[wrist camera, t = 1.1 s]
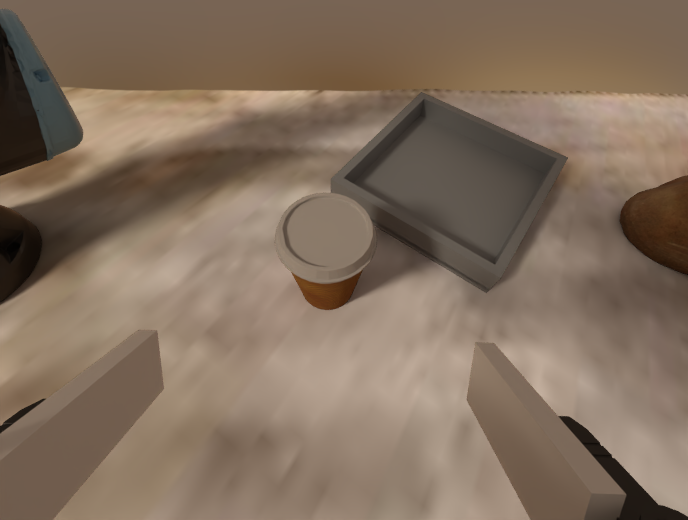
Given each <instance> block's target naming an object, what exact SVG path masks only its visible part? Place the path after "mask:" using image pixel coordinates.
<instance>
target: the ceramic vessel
mask: <svg viewBox="0 0 688 520" xmlns="http://www.w3.org/2000/svg"><path fill="white" fill-rule="evenodd" d="M620 223H621V225H622V228H623V232H624V234H625V235H626V237H627V238H628V240H629V241H630V242H631V243H632V244H633V245H634V246H635V247H636V248H637V249H638V250H640V251H641V252H642V253H643V254H645V255H646V256H647V257H649V258H651V259H652V260H654V261H655V262H657V263H660V264H662V265H664V266H666V267H669V268H671V269H673V270H676V271H678V272H681V273H684V274H687V275H688V175H687V176H683V177H680V178H677V179H674V180H672V181H670V182H667V183H665V184H662V185H660V186H659V187H656V188H653V189H649V190H645V191H642V192H639V193H637V194H636V195H634V196H633V197H631V198H630V199H629V200H628V201H626V203H625V205H624V206H623V208H622V211H621V214H620Z"/></svg>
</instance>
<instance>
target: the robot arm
mask: <svg viewBox="0 0 688 520" xmlns="http://www.w3.org/2000/svg"><path fill="white" fill-rule="evenodd" d="M82 139H83V129H82V127H81V125H80V123H79V121H78V119H77V117H76V115H75V113H74V111H73V109H72V108H71V106H70V104H69V102H68V100H67V99H66V97H65V95H64V93H63V91H62V90H61V88H60V86H59V84H58V83H57V81H56V79H55V78H54V76H53V74H52V72H51V71H50V69H49V67H48V65H47V64H46V62H45V60H44V58H43V57H42V55H41V53H40V51H39V50H38V48H37V46H36V45H35V43H34V41H33V40H32V38H31V36H30V35H29V33H28V31H27V30H26V28H25V26H24V25H23V23H22V22H21V21H20V19H19V18H18V16H17V15H16V14H15V13H14V12H13V11H11V10H9V9H0V176H1V175H4V174H7V173H10V172H13V171H16V170H19V169H22V168H25V167H28V166H31V165H34V164H37V163H40V162H43V161H46V160H47V161H48V160H51V159H53V157H54V156H56V155H58V154H61V153H63V152H65V151H68V150H70V149H72V148H75V147H77V146H78V145H79V144H80V142H81V141H82ZM40 252H41V236H40V233H39V231H38V229H37V228H36V227H35V226H34V225H33V224H32V223H31V222H30V221H28V220H27V219H26V218H24V217H23V216H22V215H20V214H19V213H17V212H16V211H14V210H12V209H10V208H7V207H5V206H2V205H0V302H1V301H2V300H4V299H5V298H6V297H8V296H9V295H10V294H11V293H13V292H14V291H15V290H16V289H17V288H18V287H19V286H20V285H21V284H22V283H23V282H24V281H25V280H26V278H27V277H28V276H29V274H30V273H31V272H32V270H33V268H34V267H35V265H36V263H37V261H38V258H39V256H40ZM163 389H164V385H163V376H162V368H161V359H160V351H159V342H158V333H157V331H155V330H138V331H136V332H135V333H134V334H132V335H131V336H130V337H128V338H127V339H126V340H124V341H123V342H122V343H120V344H119V345H118V346H116V347H115V348H114V349H112V350H111V351H110V352H108V353H107V354H106V355H104V356H103V357H102V358H100V359H99V360H98V361H96V362H95V363H94V364H92V365H91V366H90V367H88V368H87V369H86V370H84V371H83V372H82V373H80V374H79V375H78V376H76V377H75V378H74V379H72V380H71V381H70V382H68V383H67V384H66V385H64V386H63V387H62V388H60V389H59V390H58V391H56V392H55V393H54V394H52V395H51V396H50V397H48V398H47V399H42V400H40V401H38V402H36V403H34V404H32V405H30V406H28V407H26V408H24V409H22V410H20V411H19V412H17V413H16V414H15V415H13V416H12V417H11V418H9V419H8V420H6V421H5V422H4V423H3V425H2V426H0V520H53V519H54V518H55V516H56V515H57V514H58V513H59V512H60V511H61V509H62V508H63V507H64V506H65V505H66V503H67V502H68V501H69V500H70V499H71V498H72V496H73V495H74V494H75V493H76V492H77V490H78V489H79V488H80V487H81V486H82V485H83V483H84V482H85V481H86V480H87V479H88V478H89V476H90V475H91V474H92V473H93V472H94V470H95V469H96V468H97V467H98V466H99V465H100V463H101V462H102V461H103V460H104V459H105V458H106V456H107V455H108V454H109V453H110V452H111V450H112V449H113V448H114V447H115V446H116V445H117V443H118V442H119V441H120V440H121V439H122V438H123V436H124V435H125V434H126V433H127V432H128V430H129V429H130V428H131V427H132V426H133V425H134V423H135V422H136V421H137V420H138V419H139V417H140V416H141V415H142V414H143V413H144V412H145V410H146V409H147V408H148V407H149V406H150V405H151V403H152V402H153V401H154V400H155V399H156V397H157V396H158V395H159V394H160V393H161V392H162V390H163ZM467 401H468V403H469V405H470V407H471V409H472V411H473V413H474V414H475V416H476V418H477V420H478V422H479V424H480V426H481V428H482V429H483V431H484V433H485V435H486V437H487V439H488V441H489V443H490V444H491V446H492V448H493V450H494V452H495V454H496V456H497V458H498V459H499V461H500V463H501V465H502V467H503V469H504V471H505V473H506V474H507V476H508V478H509V480H510V482H511V484H512V486H513V488H514V489H515V491H516V493H517V495H518V497H519V499H520V501H521V503H522V504H523V506H524V508H525V510H526V512H527V514H528V516H529V517H530V519H531V520H688V517H687V516H686V515H684V514H682V513H680V512H679V511H676V510H673V509H671V508H668V507H665V506H661V505H658V504H657V503H656V502H655V501H654V500H653V498H652V497H651V496H650V495H649V494H648V493H647V492H646V491H645V490H644V489H643V488H642V487H641V486H640V485H639V484H638V483H637V482H636V480H635V479H634V478H633V477H632V476H631V475H630V474H629V473H628V472H627V471H626V470H625V469H624V468H623V467H622V466H621V465H620V464H619V462H618V461H617V460H616V459H615V458H612V455H611V454H610V453H609V452H608V451H607V450H606V449H605V448H604V447H603V446H601V445H600V442H599V441H598V440H597V439H596V438H595V437H594V436H593V435H592V434H591V433H590V432H589V431H588V430H587V429H586V428H585V427H583V426H582V425H580V424H579V423H578V422H576V421H575V420H573V419H572V418H570V417H568V416H557V415H556V413H555V412H554V411H553V410H552V409H551V408H550V407H549V405H548V404H547V403H546V402H545V401H544V400H543V399H542V397H541V396H540V395H539V394H538V393H537V392H536V391H535V389H534V388H533V387H532V386H531V385H530V384H529V383H528V381H527V380H526V379H525V378H524V377H523V376H522V375H521V373H520V372H519V371H518V370H517V369H516V368H515V367H514V365H513V364H512V363H511V362H510V361H509V360H508V359H507V357H506V356H505V355H504V354H503V353H502V352H501V351H500V349H499V348H498V347H497V346H496V345H495V344H494V343H481V342H475V348H474V354H473V361H472V367H471V374H470V381H469V387H468V394H467Z"/></svg>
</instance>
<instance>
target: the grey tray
mask: <svg viewBox="0 0 688 520" xmlns="http://www.w3.org/2000/svg"><path fill="white" fill-rule="evenodd" d="M567 159H568V157H565V156H563V155H561V154H559V153H556V152H554V151H552V150H550V149H547V148H545V147H543V146H541V145H539V144H536V143H534V142H532V141H530V140H527V139H525V138H523V137H521V136H518V135H516V134H514V133H512V132H509V131H507V130H505V129H503V128H501V127H498V126H496V125H494V124H492V123H489V122H487V121H485V120H483V119H480V118H478V117H476V116H474V115H471V114H469V113H467V112H465V111H463V110H460V109H458V108H456V107H454V106H451V105H449V104H447V103H445V102H442V101H440V100H438V99H436V98H433V97H431V96H429V95H427V94H424V93H422V92H421V93H420V94H419V95H418V96H417V97H416V98H415V99H414V100H413V101H412V102H411V103H410V104H409V105H408V106H406V107H405V108H404V109H403V110H402V111H401V112H400V113H399V114H398V115H397V116H396V117H395V118H394V119H393V120H392V121H391V122H390V123H389V124H388V125H387V126H386V127H385V128H384V129H383V130H381V131H380V132H379V133H378V134H377V135H376V136H375V137H374V138H373V139H372V140H371V141H370V142H369V143H368V144H367V145H366V146H365V147H364V148H363V149H362V150H361V151H360V152H359V153H357V154H356V155H355V156H354V157H353V158H352V159H351V160H350V161H349V162H348V163H347V164H346V165H345V166H344V167H343V168H342V169H341V170H340V171H339V172H338V173H337V174H336V175H335V176H333V177H332V178H331V193H335V194H340V195H343V196H347V197H349V198H351V199H353V200H355V201H356V202H357V203H358V204H360V205H361V206H362V207H363V208H364V209H365V210H366V212H367V213H368V215H369V217H370V219H371V220H372V223H373V225H375V226H377V227H378V228H380V229H382V230H383V231H385V232H386V233H388V234H390V235H391V236H393V237H395V238H396V239H398V240H400V241H401V242H403V243H405V244H406V245H408V246H410V247H411V248H413V249H415V250H416V251H418V252H420V253H421V254H423V255H425V256H426V257H428V258H430V259H431V260H433V261H435V262H436V263H438V264H440V265H441V266H443V267H445V268H446V269H448V270H449V271H451V272H453V273H454V274H456V275H458V276H459V277H461V278H463V279H464V280H466V281H468V282H469V283H471V284H473V285H474V286H476V287H478V288H479V289H481V290H483V291H484V292H486V293H487V292H488V291H489V290H490V289H491V288H492V287H493V286H494V284H495V283H496V282H497V281H498V280H499V279H500V278H501V277H502V275H503V273H504V272H505V270H506V268H507V266H508V264H509V263H510V261H511V259H512V257H513V255H514V254H515V252H516V250H517V248H518V247H519V245H520V243H521V241H522V239H523V238H524V236H525V234H526V232H527V230H528V229H529V227H530V225H531V223H532V222H533V220H534V218H535V216H536V214H537V213H538V211H539V209H540V207H541V205H542V204H543V202H544V200H545V198H546V196H547V195H548V193H549V191H550V189H551V188H552V186H553V184H554V182H555V180H556V179H557V177H558V175H559V173H560V171H561V170H562V168H563V166H564V164H565V163H566V161H567Z"/></svg>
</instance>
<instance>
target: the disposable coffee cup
mask: <svg viewBox="0 0 688 520" xmlns="http://www.w3.org/2000/svg"><path fill="white" fill-rule="evenodd" d="M376 243H377V235H376V229H375V227H374V225H373V223H372V220H371V219H370V217H369V215H368V213H367V212H366V210H365V209H364V208H363V207H362V206H361V205H360V204H358V203H357V202H356V201H355V200H353V199H351V198H349V197H347V196H343V195H340V194H335V193H316V194H312V195H309V196H306V197H303V198H301V199H299V200H297V201H296V202H295V203H293V204H292V205H291V206H289V208H288V209H287V210H286V211H285V212H284V214H283V216H282V218H281V220H280V222H279V224H278V226H277V229H276V234H275V247H276V251H277V254H278V256H279V258H280V260H281V262H282V263H283V264H284V265H285V267H286V268H287V269H288V270H290V271H291V272H292V274H293V276H294V278H295V280H296V282H297V284H298V285H299V287H300V289H301V291H302V293H303V295H304V297H305V299H306V300H307V301H308V302H309V303H310V304H311V305H313V306H314V307H316V308H319V309H324V310H332V309H336V308H339V307H341V306H342V305H344V304H345V303H346V302H347V301H348V300H349V299H350V297H351V295H352V293H353V290H354V288H355V286H356V284H357V282H358V279H359V277H360V275H361V273H362V270H363V269H364V268H365V267H366V266H367V265H368V263H369V262H370V260H371V259H372V257H373V255H374V252H375V249H376Z"/></svg>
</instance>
